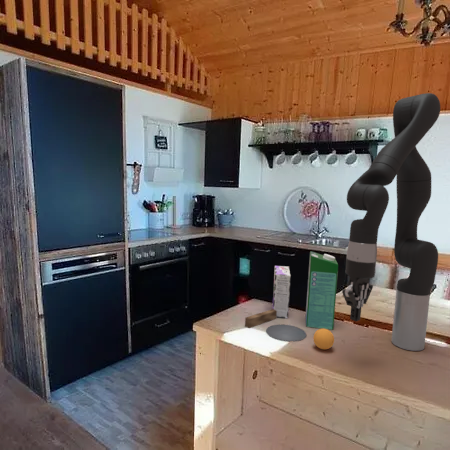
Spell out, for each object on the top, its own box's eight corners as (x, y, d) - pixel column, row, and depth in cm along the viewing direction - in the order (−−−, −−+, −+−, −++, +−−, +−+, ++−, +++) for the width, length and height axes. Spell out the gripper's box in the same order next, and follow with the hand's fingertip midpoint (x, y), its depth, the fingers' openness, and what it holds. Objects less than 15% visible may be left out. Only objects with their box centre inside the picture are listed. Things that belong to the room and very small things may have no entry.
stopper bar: (271, 317, 131) (272, 309, 131) (276, 318, 130) (276, 310, 129) (245, 326, 122) (245, 317, 122) (249, 328, 120) (249, 319, 120)
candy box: (272, 305, 145) (274, 265, 143) (287, 306, 144) (289, 266, 142) (272, 317, 131) (274, 273, 129) (288, 318, 130) (291, 274, 128)
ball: (320, 342, 112) (321, 323, 111) (337, 349, 107) (338, 330, 107) (308, 347, 108) (310, 328, 107) (326, 355, 103) (327, 335, 103)
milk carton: (333, 330, 122) (338, 257, 119) (306, 326, 123) (311, 255, 120) (330, 320, 130) (336, 252, 128) (305, 317, 132) (310, 250, 129)
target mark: (282, 322, 127) (282, 321, 127) (314, 334, 117) (314, 333, 117) (257, 331, 118) (257, 330, 118) (289, 345, 109) (289, 344, 109)
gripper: (362, 263, 90) (355, 330, 92) (385, 258, 99) (379, 319, 101) (335, 258, 96) (329, 320, 97) (360, 253, 104) (354, 311, 106)
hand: (355, 319), depth 99 cm, fingers closed
